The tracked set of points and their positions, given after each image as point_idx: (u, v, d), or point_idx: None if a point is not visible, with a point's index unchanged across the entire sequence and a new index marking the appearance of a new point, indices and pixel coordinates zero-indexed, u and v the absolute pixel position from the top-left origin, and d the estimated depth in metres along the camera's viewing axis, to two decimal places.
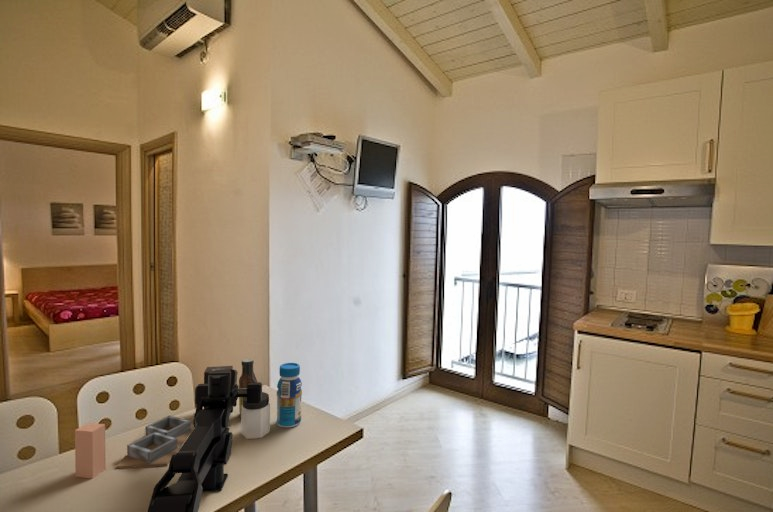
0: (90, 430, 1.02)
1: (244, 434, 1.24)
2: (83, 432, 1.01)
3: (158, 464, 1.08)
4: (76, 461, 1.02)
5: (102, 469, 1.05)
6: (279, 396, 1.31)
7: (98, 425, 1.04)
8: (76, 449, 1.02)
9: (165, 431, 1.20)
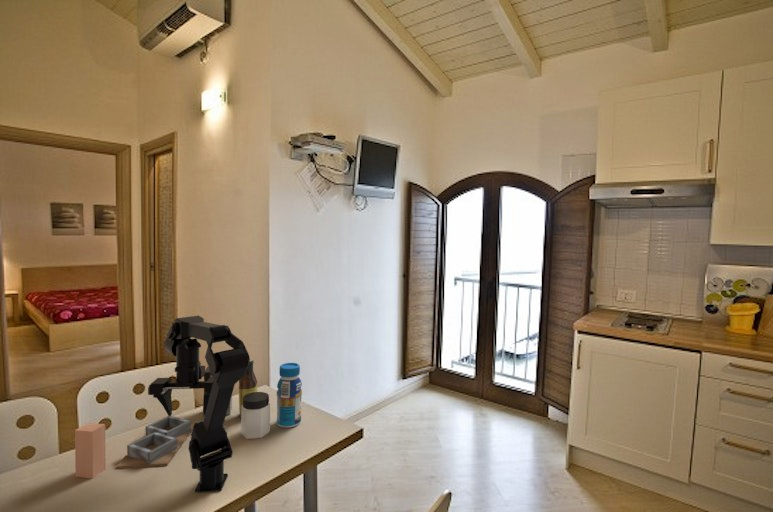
0: (90, 430, 1.02)
1: (244, 434, 1.24)
2: (83, 432, 1.01)
3: (158, 464, 1.08)
4: (76, 461, 1.02)
5: (102, 469, 1.05)
6: (279, 396, 1.31)
7: (98, 425, 1.04)
8: (76, 449, 1.02)
9: (165, 431, 1.20)
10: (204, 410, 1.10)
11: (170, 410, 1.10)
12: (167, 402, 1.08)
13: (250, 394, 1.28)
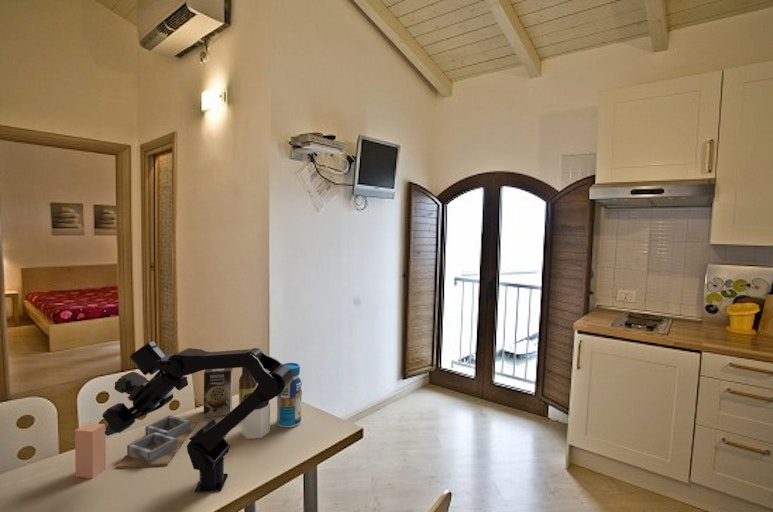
0: (90, 430, 1.02)
1: (244, 434, 1.24)
2: (83, 432, 1.02)
3: (158, 464, 1.08)
4: (76, 461, 1.02)
5: (102, 469, 1.05)
6: (279, 396, 1.31)
7: (98, 425, 1.04)
8: (76, 449, 1.02)
9: (165, 431, 1.20)
10: None
11: None
12: None
13: None
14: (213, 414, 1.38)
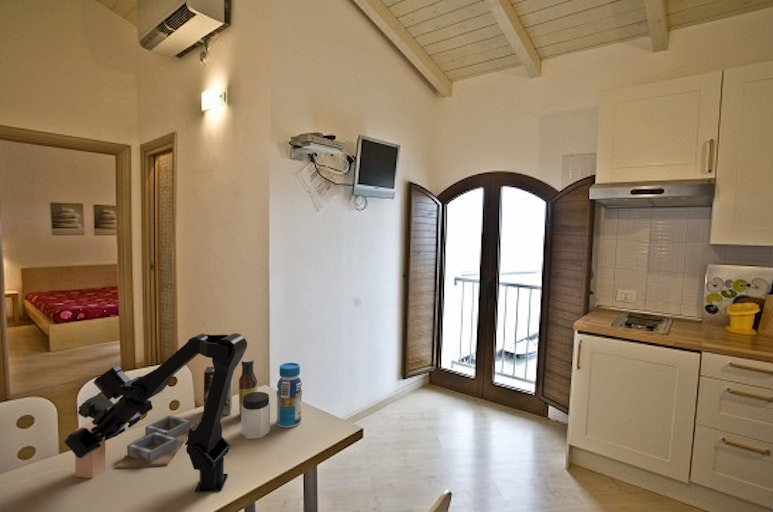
0: (90, 430, 1.02)
1: (244, 434, 1.24)
2: None
3: (158, 464, 1.08)
4: (76, 461, 1.02)
5: (102, 469, 1.05)
6: (279, 396, 1.31)
7: None
8: None
9: (165, 431, 1.20)
10: None
11: None
12: None
13: (250, 394, 1.28)
14: None
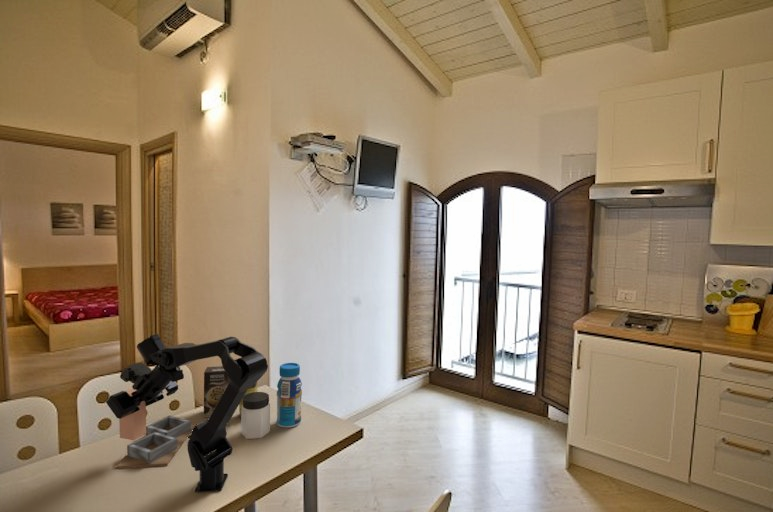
0: None
1: (244, 434, 1.24)
2: None
3: (158, 464, 1.08)
4: (120, 423, 1.09)
5: (143, 433, 1.11)
6: (279, 396, 1.31)
7: None
8: None
9: (165, 431, 1.20)
10: None
11: None
12: None
13: (250, 394, 1.28)
14: None
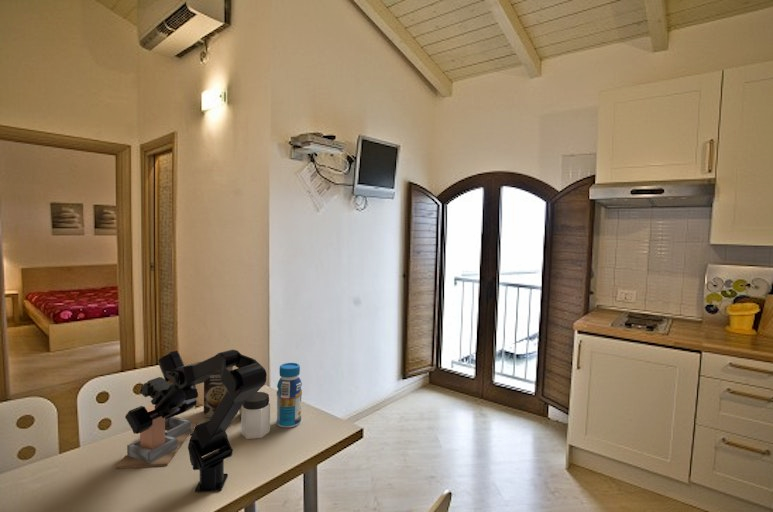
0: None
1: (244, 434, 1.24)
2: None
3: (158, 464, 1.08)
4: (140, 439, 1.12)
5: None
6: (279, 396, 1.31)
7: None
8: None
9: (165, 431, 1.20)
10: (169, 417, 1.17)
11: None
12: None
13: None
14: None
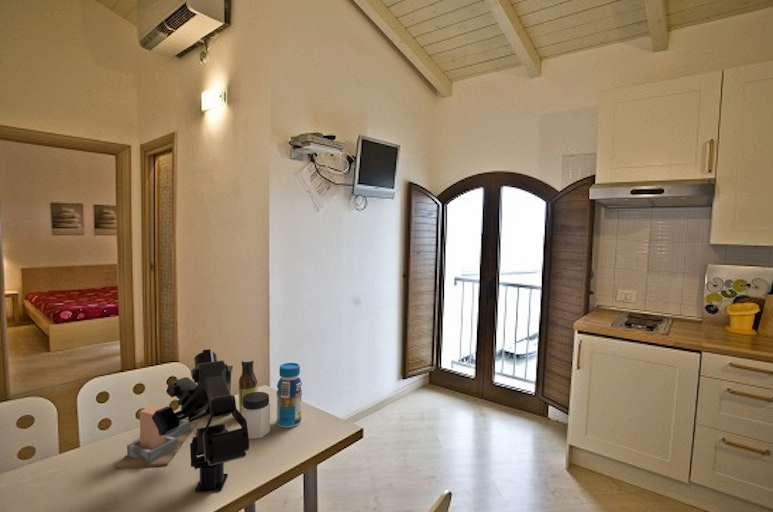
0: (151, 413, 1.11)
1: None
2: (145, 414, 1.11)
3: (158, 464, 1.08)
4: (140, 439, 1.12)
5: None
6: (279, 396, 1.31)
7: (159, 409, 1.14)
8: (141, 428, 1.12)
9: None
10: None
11: None
12: None
13: (250, 394, 1.28)
14: None
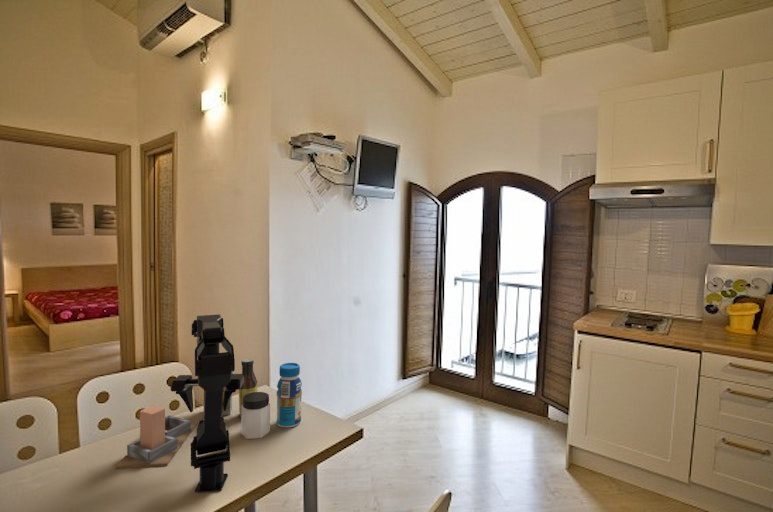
0: (151, 413, 1.11)
1: (244, 434, 1.24)
2: (145, 414, 1.11)
3: (158, 464, 1.08)
4: (140, 439, 1.12)
5: None
6: (279, 396, 1.31)
7: (159, 409, 1.14)
8: (141, 428, 1.12)
9: (165, 431, 1.20)
10: (224, 406, 1.13)
11: (192, 407, 1.12)
12: (189, 398, 1.11)
13: (250, 394, 1.28)
14: None
